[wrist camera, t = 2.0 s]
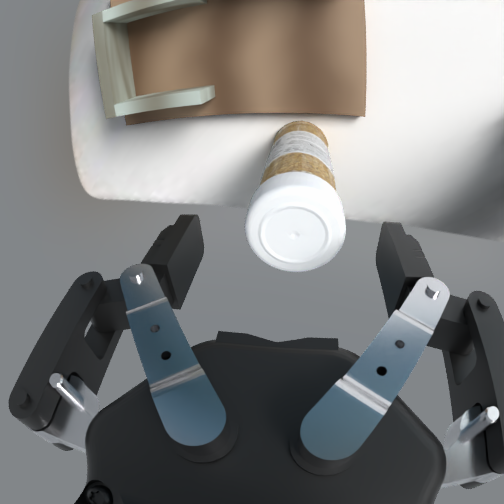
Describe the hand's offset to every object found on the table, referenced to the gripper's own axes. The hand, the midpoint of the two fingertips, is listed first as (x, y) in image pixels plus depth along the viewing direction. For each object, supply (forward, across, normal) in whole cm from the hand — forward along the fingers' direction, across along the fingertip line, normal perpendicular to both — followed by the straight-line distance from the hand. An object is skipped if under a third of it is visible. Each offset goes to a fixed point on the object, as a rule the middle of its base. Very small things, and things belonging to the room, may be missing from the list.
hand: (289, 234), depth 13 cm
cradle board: (+14, +5, -9) cm, 17 cm away
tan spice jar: (+14, 0, 0) cm, 14 cm away
